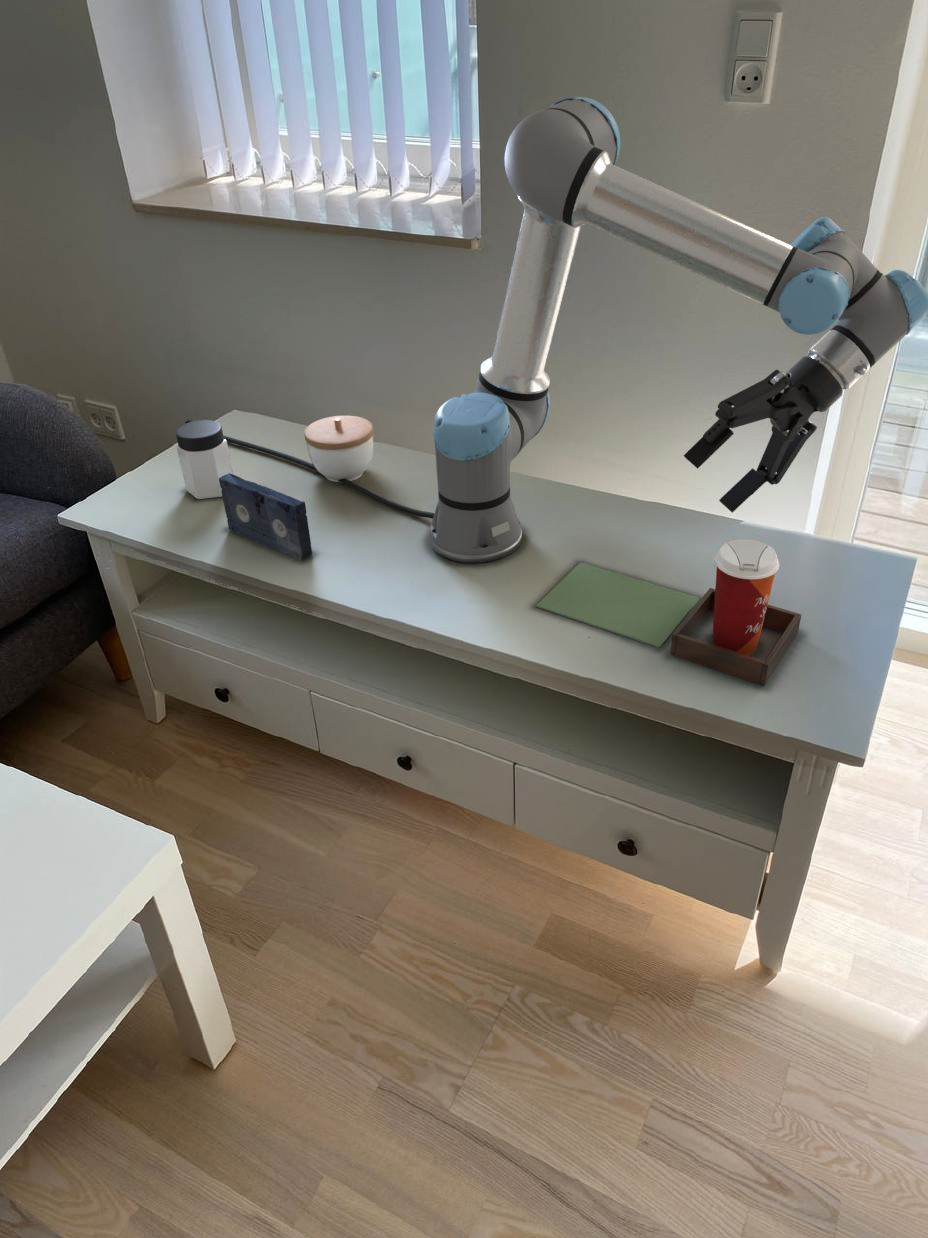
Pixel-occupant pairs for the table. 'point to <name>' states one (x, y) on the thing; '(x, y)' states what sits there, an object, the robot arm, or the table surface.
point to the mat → (619, 604)
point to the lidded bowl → (340, 446)
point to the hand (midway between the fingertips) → (708, 485)
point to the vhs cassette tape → (266, 516)
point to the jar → (203, 457)
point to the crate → (727, 658)
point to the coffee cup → (742, 593)
